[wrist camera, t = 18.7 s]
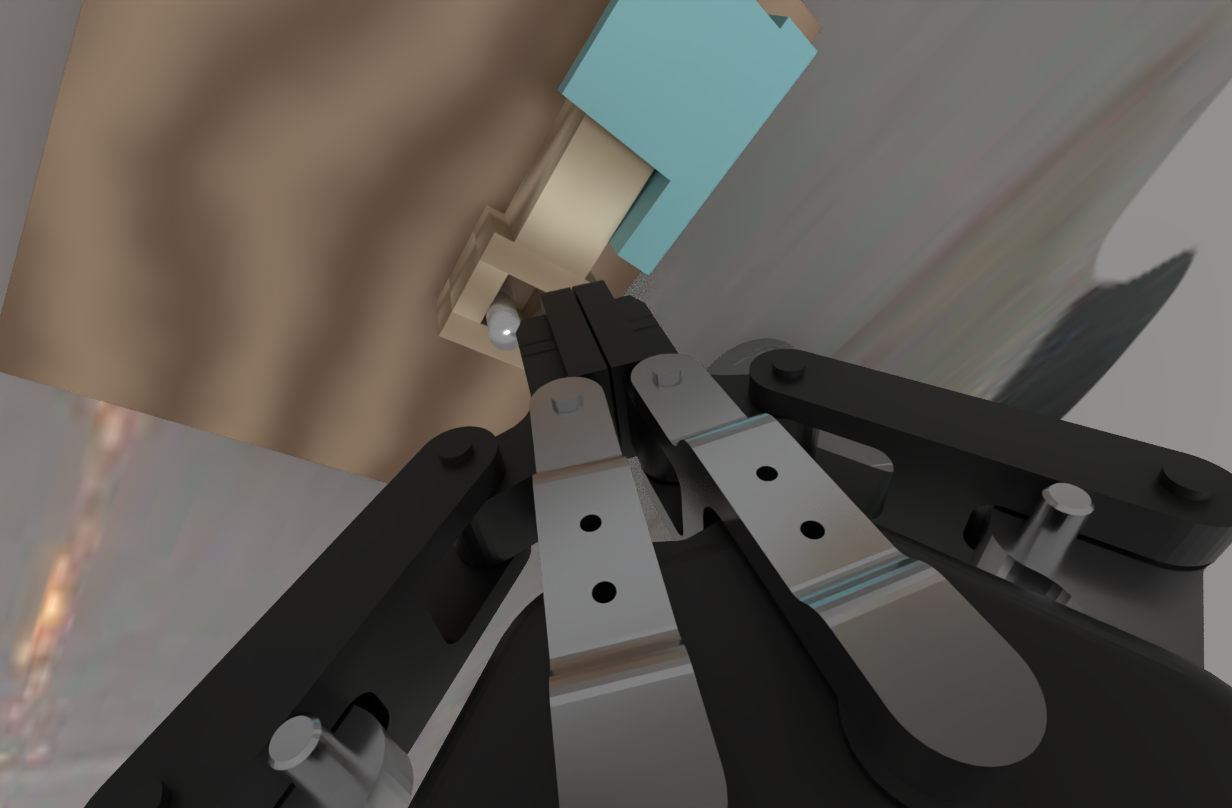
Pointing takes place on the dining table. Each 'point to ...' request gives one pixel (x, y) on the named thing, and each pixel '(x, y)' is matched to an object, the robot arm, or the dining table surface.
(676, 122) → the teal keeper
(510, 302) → the rod
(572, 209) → the maple link
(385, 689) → the robot arm
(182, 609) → the dining table surface
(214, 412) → the walnut board
